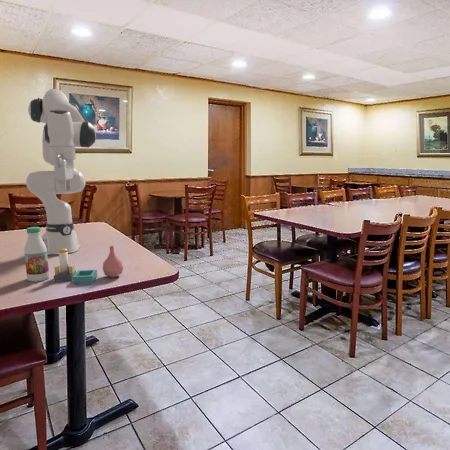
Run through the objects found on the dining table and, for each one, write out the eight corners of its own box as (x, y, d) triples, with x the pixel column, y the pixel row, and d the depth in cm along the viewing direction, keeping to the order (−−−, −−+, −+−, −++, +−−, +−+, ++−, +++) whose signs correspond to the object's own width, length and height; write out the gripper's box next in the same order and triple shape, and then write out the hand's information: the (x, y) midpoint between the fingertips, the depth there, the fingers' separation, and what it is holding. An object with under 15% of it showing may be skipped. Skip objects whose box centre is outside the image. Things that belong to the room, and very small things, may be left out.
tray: (73, 284, 142) (72, 276, 141) (78, 277, 150) (78, 270, 149) (92, 283, 143) (92, 276, 142) (97, 277, 151) (96, 269, 150)
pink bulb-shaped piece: (124, 272, 156) (123, 243, 153) (122, 279, 148) (120, 248, 146) (104, 273, 154) (102, 244, 152) (101, 280, 147) (99, 249, 145)
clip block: (54, 281, 146) (52, 268, 145) (59, 275, 152) (58, 263, 151) (71, 280, 147) (70, 267, 146) (76, 275, 153) (75, 262, 152)
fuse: (59, 273, 149) (57, 249, 147) (66, 271, 151) (64, 248, 149) (63, 274, 147) (61, 250, 145) (70, 272, 149) (68, 249, 148)
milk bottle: (24, 278, 149) (18, 227, 145) (45, 274, 154) (40, 224, 151) (31, 283, 144) (25, 230, 140) (52, 278, 149) (47, 227, 145)
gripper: (67, 154, 135) (70, 193, 137) (75, 155, 155) (77, 190, 157) (48, 154, 134) (51, 194, 136) (58, 155, 153) (61, 190, 155)
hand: (65, 192), depth 147 cm, fingers open, 8 cm apart
